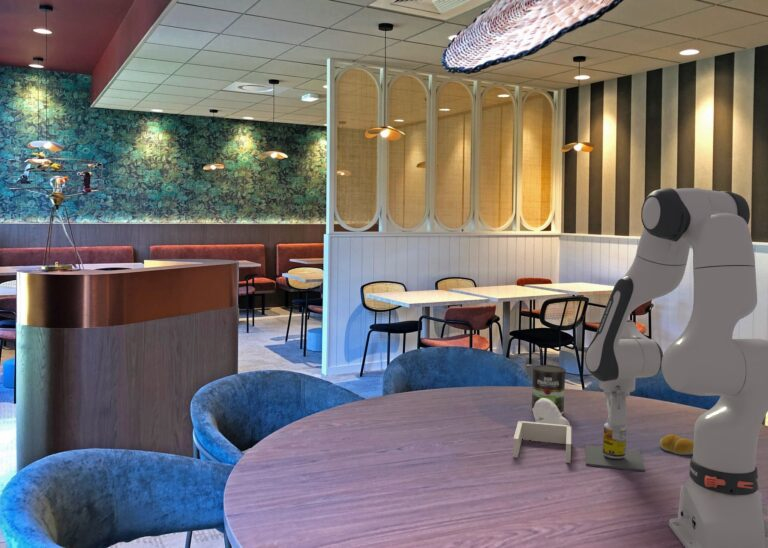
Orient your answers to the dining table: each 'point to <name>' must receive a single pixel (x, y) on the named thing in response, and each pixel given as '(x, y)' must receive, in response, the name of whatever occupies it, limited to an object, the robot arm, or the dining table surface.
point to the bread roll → (677, 445)
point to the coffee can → (549, 385)
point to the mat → (600, 460)
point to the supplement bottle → (613, 442)
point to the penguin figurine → (548, 413)
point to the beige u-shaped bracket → (542, 435)
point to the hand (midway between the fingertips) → (614, 434)
